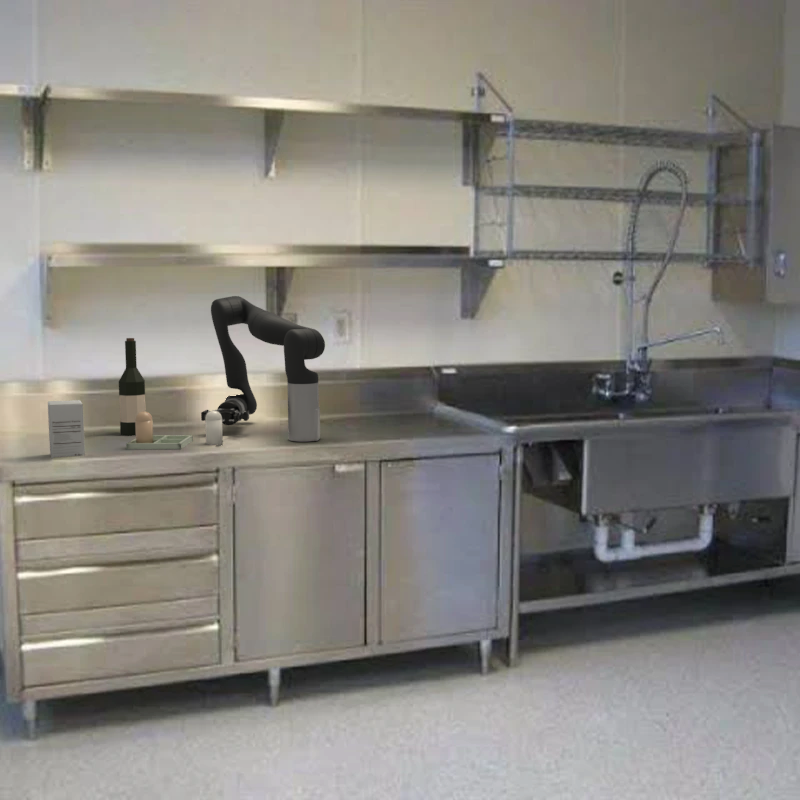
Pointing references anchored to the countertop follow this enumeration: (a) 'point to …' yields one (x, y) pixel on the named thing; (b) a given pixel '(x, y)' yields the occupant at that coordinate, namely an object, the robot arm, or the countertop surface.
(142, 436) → the tan dome-topped cylinder
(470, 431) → the countertop surface
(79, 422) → the supplement box
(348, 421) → the countertop surface
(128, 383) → the wine bottle
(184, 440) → the green rectangular open tray
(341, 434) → the countertop surface
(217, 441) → the white dome-topped cylinder
